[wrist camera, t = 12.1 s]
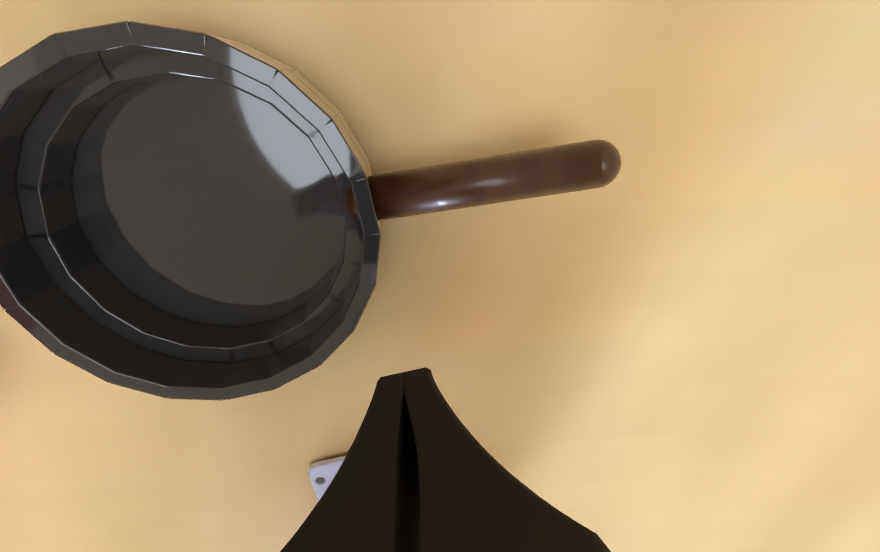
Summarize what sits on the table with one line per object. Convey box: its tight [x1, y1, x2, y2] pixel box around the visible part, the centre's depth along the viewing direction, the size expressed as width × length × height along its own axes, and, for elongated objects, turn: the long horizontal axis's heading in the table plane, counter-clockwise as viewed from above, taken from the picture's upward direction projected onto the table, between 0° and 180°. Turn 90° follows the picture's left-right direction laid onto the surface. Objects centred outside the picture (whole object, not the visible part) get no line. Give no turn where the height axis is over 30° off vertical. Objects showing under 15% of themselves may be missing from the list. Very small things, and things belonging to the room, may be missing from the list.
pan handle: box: [345, 140, 621, 220], centre depth 16 cm, size 10×2×3 cm, turn 100°
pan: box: [0, 21, 381, 400], centre depth 17 cm, size 13×13×4 cm
